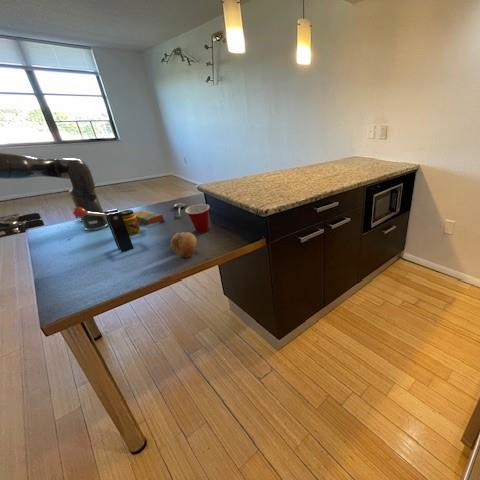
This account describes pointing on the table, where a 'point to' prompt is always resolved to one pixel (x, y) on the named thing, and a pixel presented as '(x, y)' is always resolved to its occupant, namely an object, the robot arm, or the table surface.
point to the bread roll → (183, 244)
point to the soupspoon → (179, 208)
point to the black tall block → (119, 230)
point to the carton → (148, 217)
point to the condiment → (130, 222)
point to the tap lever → (82, 212)
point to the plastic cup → (199, 217)
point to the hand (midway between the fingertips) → (41, 218)
